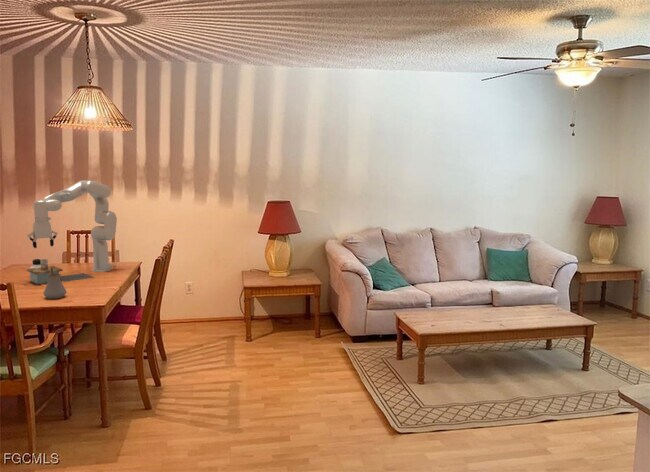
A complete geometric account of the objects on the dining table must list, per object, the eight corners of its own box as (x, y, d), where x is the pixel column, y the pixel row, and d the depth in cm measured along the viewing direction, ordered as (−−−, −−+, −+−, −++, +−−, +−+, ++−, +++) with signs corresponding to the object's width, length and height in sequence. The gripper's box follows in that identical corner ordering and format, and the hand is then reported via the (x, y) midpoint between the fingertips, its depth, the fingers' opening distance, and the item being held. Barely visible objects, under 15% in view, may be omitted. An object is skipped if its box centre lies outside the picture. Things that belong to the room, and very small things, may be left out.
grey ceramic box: (52, 278, 345) (51, 268, 344) (59, 281, 336) (59, 271, 335) (30, 281, 336) (29, 270, 335) (37, 284, 327) (36, 273, 326)
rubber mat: (83, 273, 362) (83, 273, 362) (95, 277, 349) (95, 277, 349) (53, 277, 349) (53, 277, 348) (64, 282, 335) (64, 281, 335)
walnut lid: (53, 267, 346) (52, 256, 345) (62, 271, 335) (62, 259, 334) (26, 270, 335) (25, 259, 334) (35, 274, 324) (34, 262, 323)
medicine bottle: (39, 278, 346) (38, 260, 344) (30, 277, 347) (28, 259, 345) (47, 276, 353) (46, 258, 351) (37, 275, 354) (36, 258, 352)
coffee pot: (67, 298, 295) (66, 271, 293) (44, 300, 289) (43, 273, 287) (63, 290, 313) (62, 265, 311) (41, 292, 307) (40, 267, 305)
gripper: (54, 218, 340) (55, 244, 342) (24, 220, 327) (26, 247, 330) (58, 219, 335) (60, 246, 337) (28, 221, 322) (30, 249, 325)
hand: (43, 247), depth 333 cm, fingers open, 9 cm apart
